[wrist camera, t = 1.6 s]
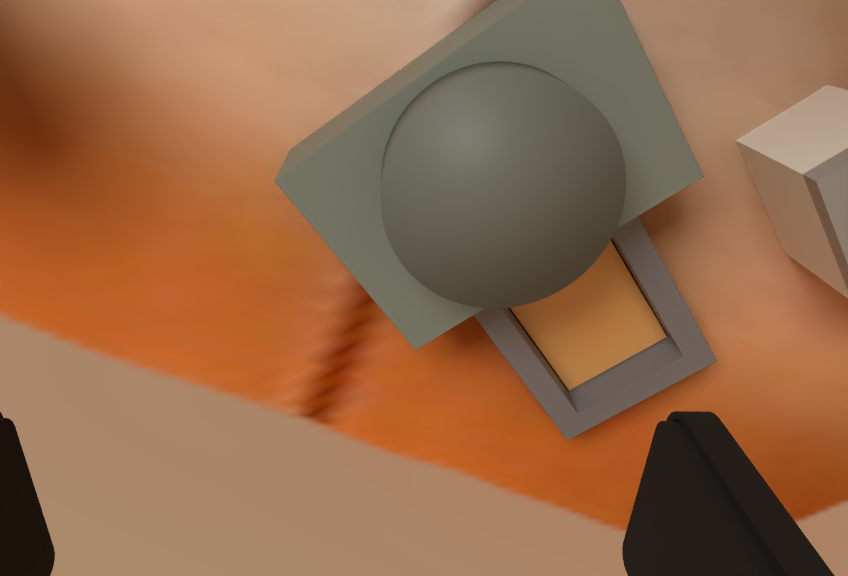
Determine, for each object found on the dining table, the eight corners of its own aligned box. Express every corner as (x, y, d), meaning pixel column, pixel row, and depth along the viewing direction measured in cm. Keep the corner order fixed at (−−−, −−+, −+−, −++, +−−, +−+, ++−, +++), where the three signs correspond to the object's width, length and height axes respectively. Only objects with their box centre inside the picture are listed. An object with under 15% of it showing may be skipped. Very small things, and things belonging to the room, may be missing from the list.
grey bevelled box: (826, 84, 32) (932, 114, 26) (868, 205, 35) (971, 257, 29) (735, 140, 33) (816, 181, 27) (783, 251, 36) (866, 311, 30)
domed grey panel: (563, -49, 28) (622, -52, 21) (743, 313, 38) (825, 394, 31) (289, 150, 32) (262, 204, 25) (518, 435, 42) (545, 533, 34)
